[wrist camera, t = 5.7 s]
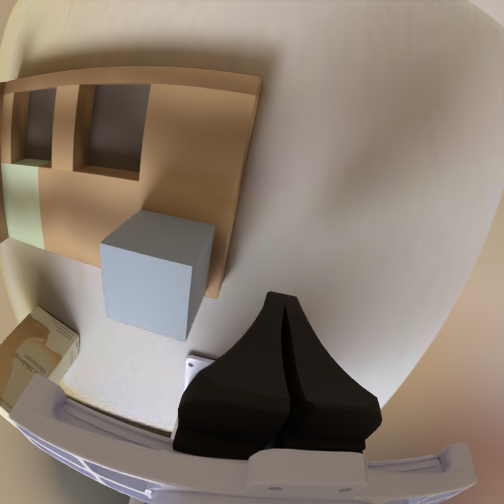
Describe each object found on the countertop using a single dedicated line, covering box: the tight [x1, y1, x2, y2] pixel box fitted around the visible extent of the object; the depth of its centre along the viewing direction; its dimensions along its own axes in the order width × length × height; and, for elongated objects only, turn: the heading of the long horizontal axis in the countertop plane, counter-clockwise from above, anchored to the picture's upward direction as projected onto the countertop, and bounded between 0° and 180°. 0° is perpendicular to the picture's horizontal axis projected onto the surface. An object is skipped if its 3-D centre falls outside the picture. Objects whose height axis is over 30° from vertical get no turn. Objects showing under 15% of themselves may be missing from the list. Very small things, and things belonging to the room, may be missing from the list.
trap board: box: [0, 66, 263, 299], centre depth 14 cm, size 13×20×5 cm, turn 79°
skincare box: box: [0, 306, 79, 428], centre depth 20 cm, size 6×4×12 cm
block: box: [100, 210, 215, 342], centre depth 15 cm, size 4×4×4 cm
